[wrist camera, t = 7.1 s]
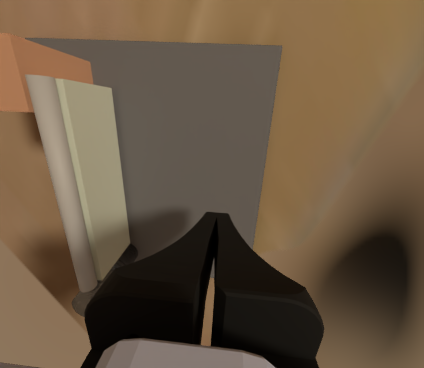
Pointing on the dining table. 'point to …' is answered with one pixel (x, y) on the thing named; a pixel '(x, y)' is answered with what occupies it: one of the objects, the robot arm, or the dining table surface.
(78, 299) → the gate post
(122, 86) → the mat
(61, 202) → the bar
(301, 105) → the dining table surface
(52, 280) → the dining table surface
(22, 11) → the dining table surface
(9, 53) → the block
